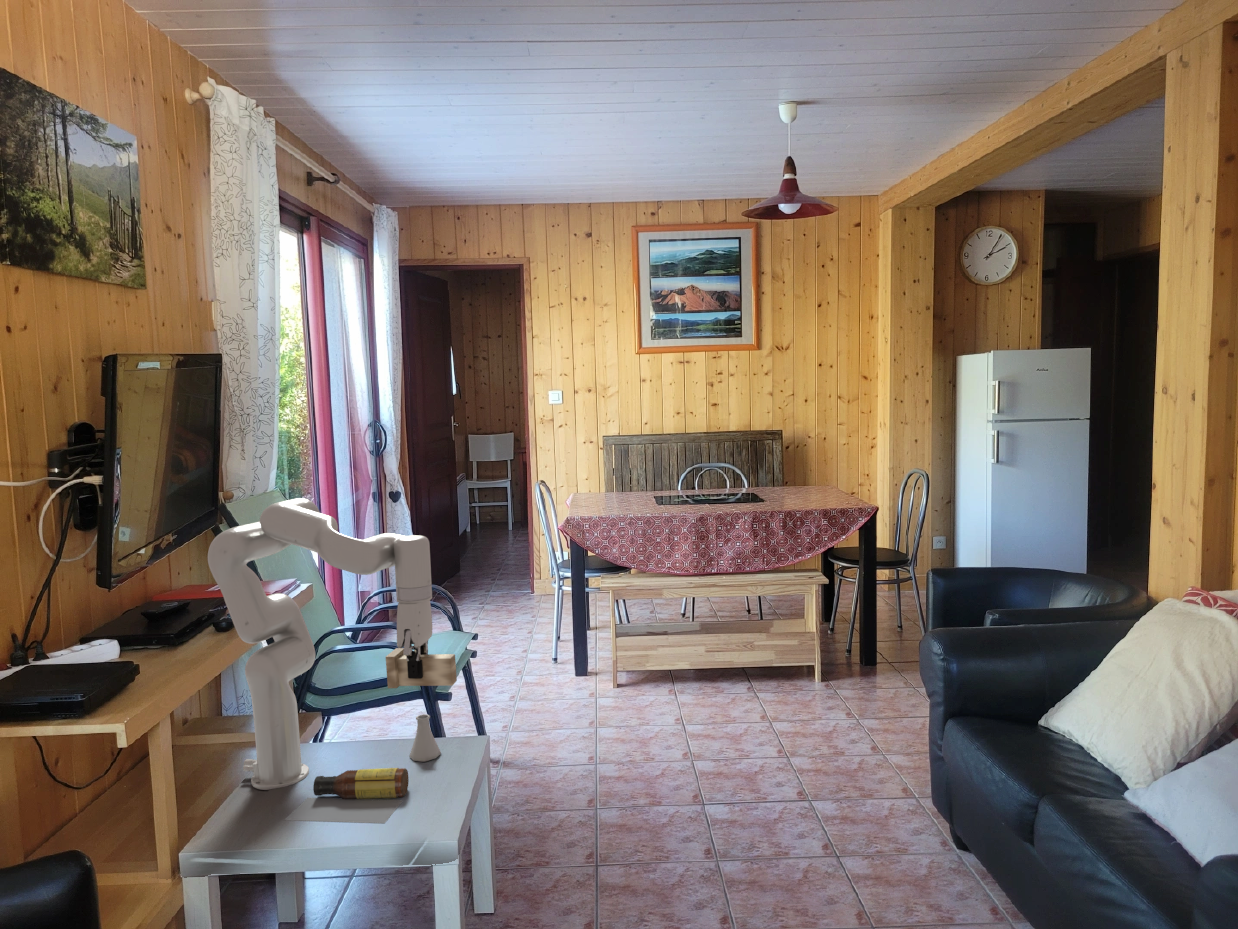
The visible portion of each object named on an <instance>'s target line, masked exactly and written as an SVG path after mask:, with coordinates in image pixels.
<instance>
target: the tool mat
mask: <svg viewBox="0 0 1238 929" xmlns="http://www.w3.org/2000/svg"><path fill="white" fill-rule="evenodd" d="M403 801H404V800H403V799H402V800H401V799H400V800H399V799H374V798H373V799H342V798H338V797H337V798H333V797H332V798H331V797H307V798H305V799H304V801H303V802H302V803H300V804H299V805H298V806H297V807H296V808H295V809H294V810H293V811H292V812H291V813H290V814H289V815H288V816H287V817H286V818H285V819H284V821H290V822H291V821H292V822H294V821H298V822H323V823H325V822H328V823H354V824H355V823H356V824H357V823H358V824H363V823H364V824H386V822H387V821H388V820H389V819H390V818H391V816H392V815H393V814H394V812H396V811H397V809H398V807H399V806H400V805H401V804H402V803H403Z"/></svg>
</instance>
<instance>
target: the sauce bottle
mask: <svg viewBox="0 0 1238 929" xmlns="http://www.w3.org/2000/svg"><path fill="white" fill-rule="evenodd" d="M408 772H409V771H408V769H407V768H405V767H403V768H399V767H387V768H385V767H384V768H362V769H349V770H346V771H344V772H341V773H340V774H338V775H334V776H324V775H318V776H316V777H315V779H314V781H313V786H312V787H313V789H312V791H313V794H314V796H319V797H320V796H324V795H325V796H327V795H332V796H333V795H336V796H337V797H339V798H340V799H373V800H374V799H392V798H393V799H396V798H403V797H405V795H406V794H407V793H408V788H409V773H408Z"/></svg>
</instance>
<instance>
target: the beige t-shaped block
mask: <svg viewBox="0 0 1238 929" xmlns="http://www.w3.org/2000/svg"><path fill="white" fill-rule="evenodd" d="M403 652H404V647H402V648H398V647H395V649H393V650H392V651H391V652H390V653H388V654H387V655H386V656H385V668H386V679H387V681H386V682H387V689H397V688H398V687H403V686H404V687H407V686H408V687H411V686H413V687H417V686H418V687H419V686H421V687H423V686H425V687H427V686H428V687H432V686H436V687H437V686H445V687H447V686H454V684H456V682H457V681H458V680H457V679H458V678H457V676H458V675H457V666H456V665H457V664H456V653H450V654H449V653H444V654H440V653H438V654H437V653H435V654H432V653H431V654H430V653H428V654H422V655H420V660H422V665H423V677H422V678H421V679H410V678H408V667H407V660H406V656H405V655H404V654H403Z"/></svg>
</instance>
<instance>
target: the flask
mask: <svg viewBox="0 0 1238 929" xmlns="http://www.w3.org/2000/svg"><path fill="white" fill-rule="evenodd" d="M430 719H431V715H430V714H425V713H424V714H423V713H422V714H419V715H417V716H416V717H415V720H416V722H417V723H416V724H417V728H416V733H415V737H414V740H413V744H412V746H411V750H410V752H409V755H408V756H409V758H410V759H411V760H413V761H414V762H415V761H416V762H424V763H425V762H428V761H431V760H434V759H437V758H438V757H439V756H440V755H441V754H442V752H441V749H440V748H439V745H438V743H437V741H436V739H435V737H434V735H433V732H432V729H431V725H430Z"/></svg>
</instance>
